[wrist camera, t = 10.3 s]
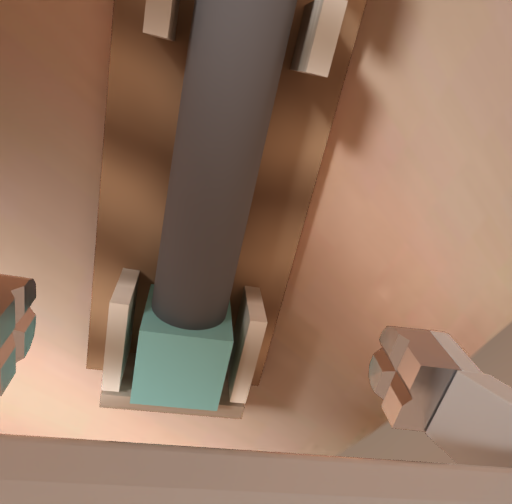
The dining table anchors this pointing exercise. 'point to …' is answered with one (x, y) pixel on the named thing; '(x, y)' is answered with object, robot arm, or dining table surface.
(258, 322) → the wooden cradle
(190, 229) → the grey and teal rod
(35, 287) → the robot arm
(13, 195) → the dining table surface
